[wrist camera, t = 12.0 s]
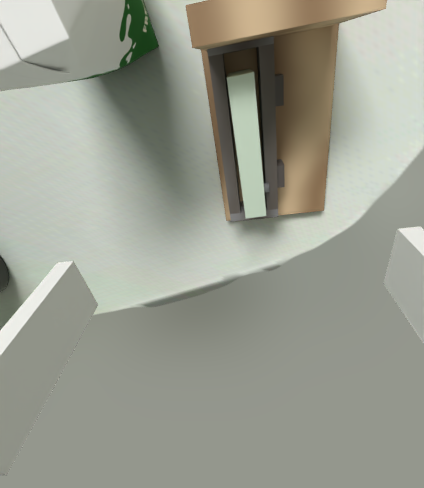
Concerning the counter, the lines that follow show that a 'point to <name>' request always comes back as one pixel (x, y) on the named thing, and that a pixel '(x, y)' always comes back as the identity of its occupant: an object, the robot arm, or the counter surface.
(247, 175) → the pale green rectangular block
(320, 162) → the wooden stand with tray
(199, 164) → the counter surface
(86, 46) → the milk carton
